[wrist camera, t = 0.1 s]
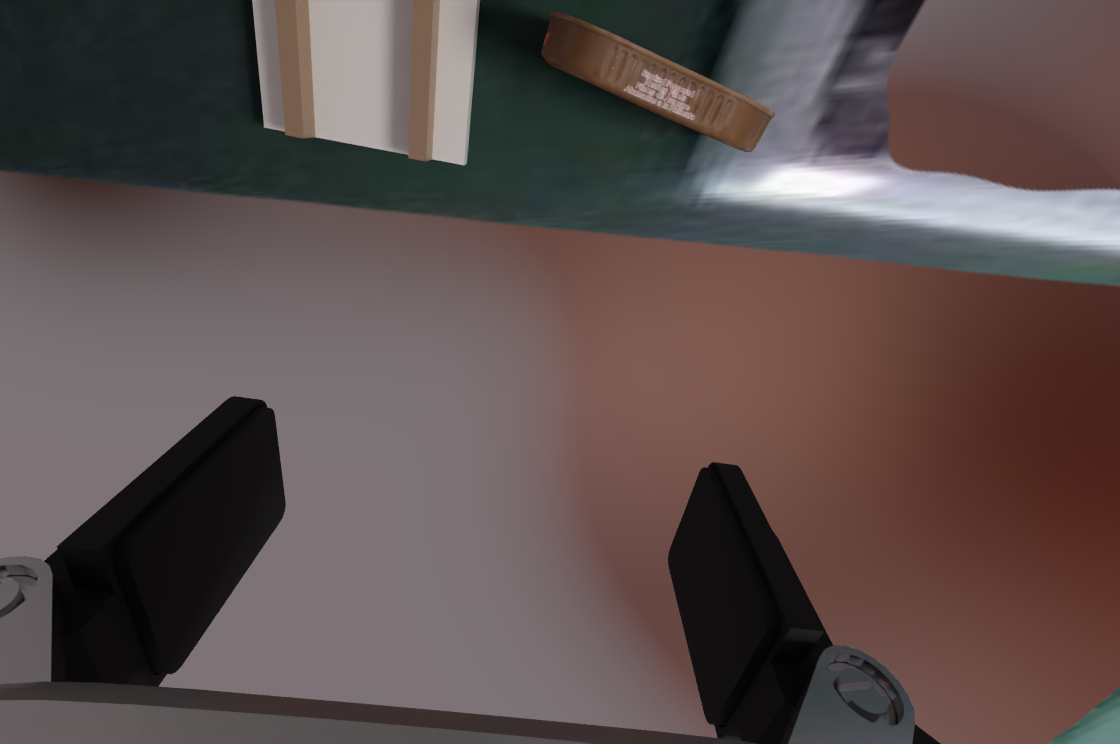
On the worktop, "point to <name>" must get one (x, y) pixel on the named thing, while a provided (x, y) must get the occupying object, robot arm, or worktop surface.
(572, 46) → the tin
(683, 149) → the worktop surface
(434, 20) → the cradle
